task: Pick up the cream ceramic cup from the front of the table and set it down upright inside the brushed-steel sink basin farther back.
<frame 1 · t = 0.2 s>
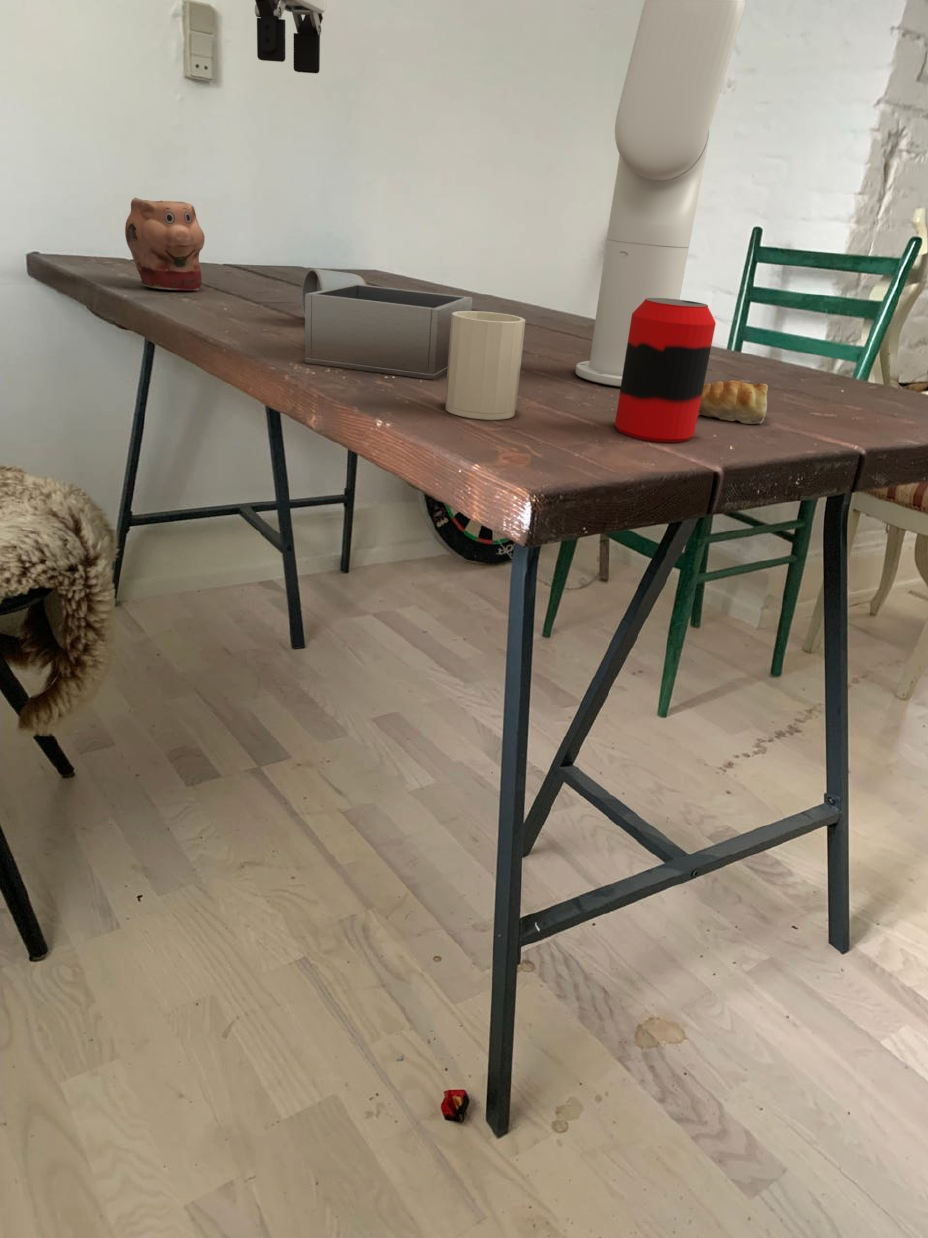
hand: (289, 66, 107), 31 cm above the table, tool pointing down, fingers open, 9 cm apart
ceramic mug: (329, 325, 134), on the table
soda can: (653, 434, 87), on the table
cup: (480, 411, 89), on the table
decorative planter: (166, 288, 156), on the table
sink: (390, 361, 110), on the table
pastry: (725, 417, 97), on the table
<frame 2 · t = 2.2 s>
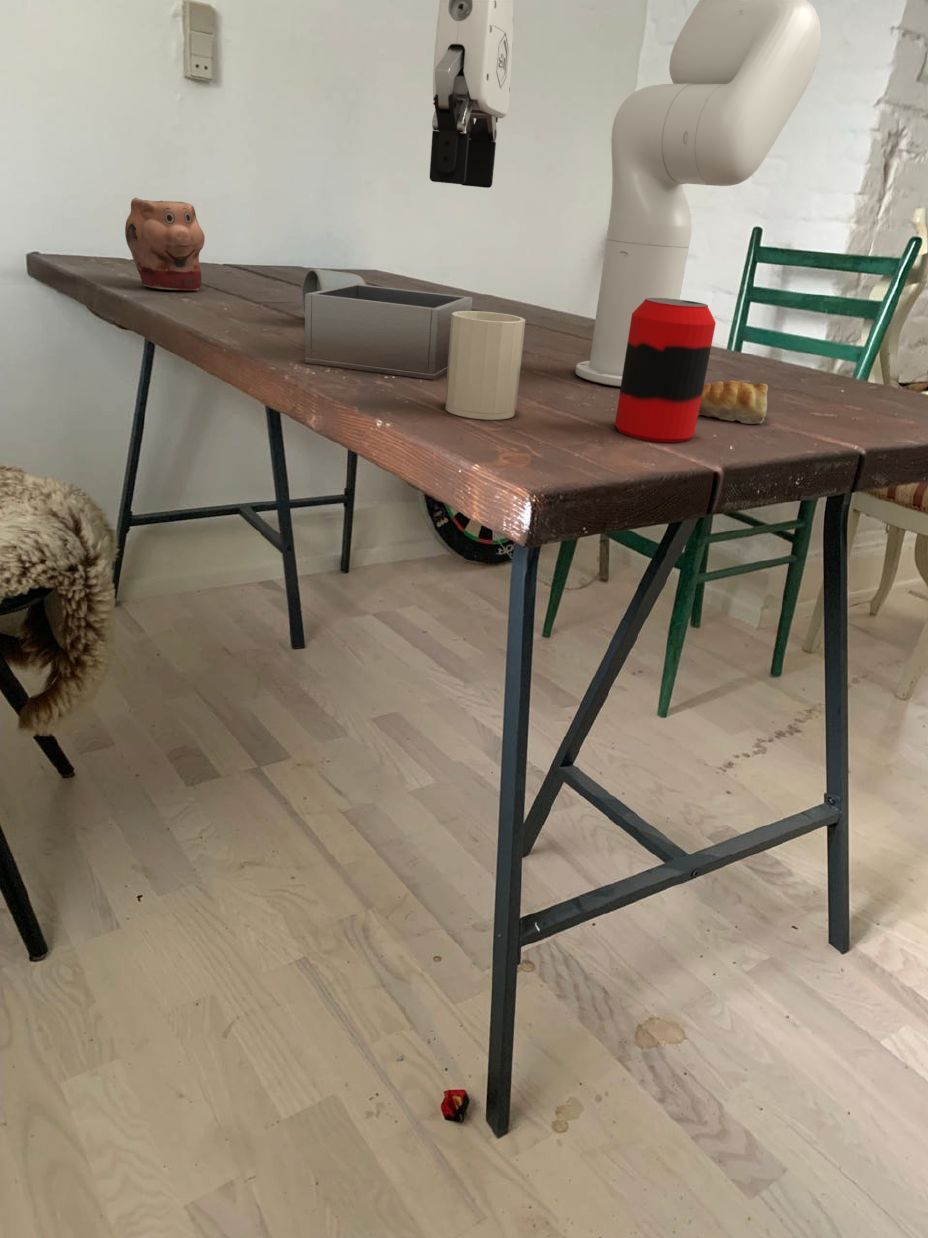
hand: (462, 184, 85), 20 cm above the table, tool pointing down, fingers open, 9 cm apart
nothing on the table moved.
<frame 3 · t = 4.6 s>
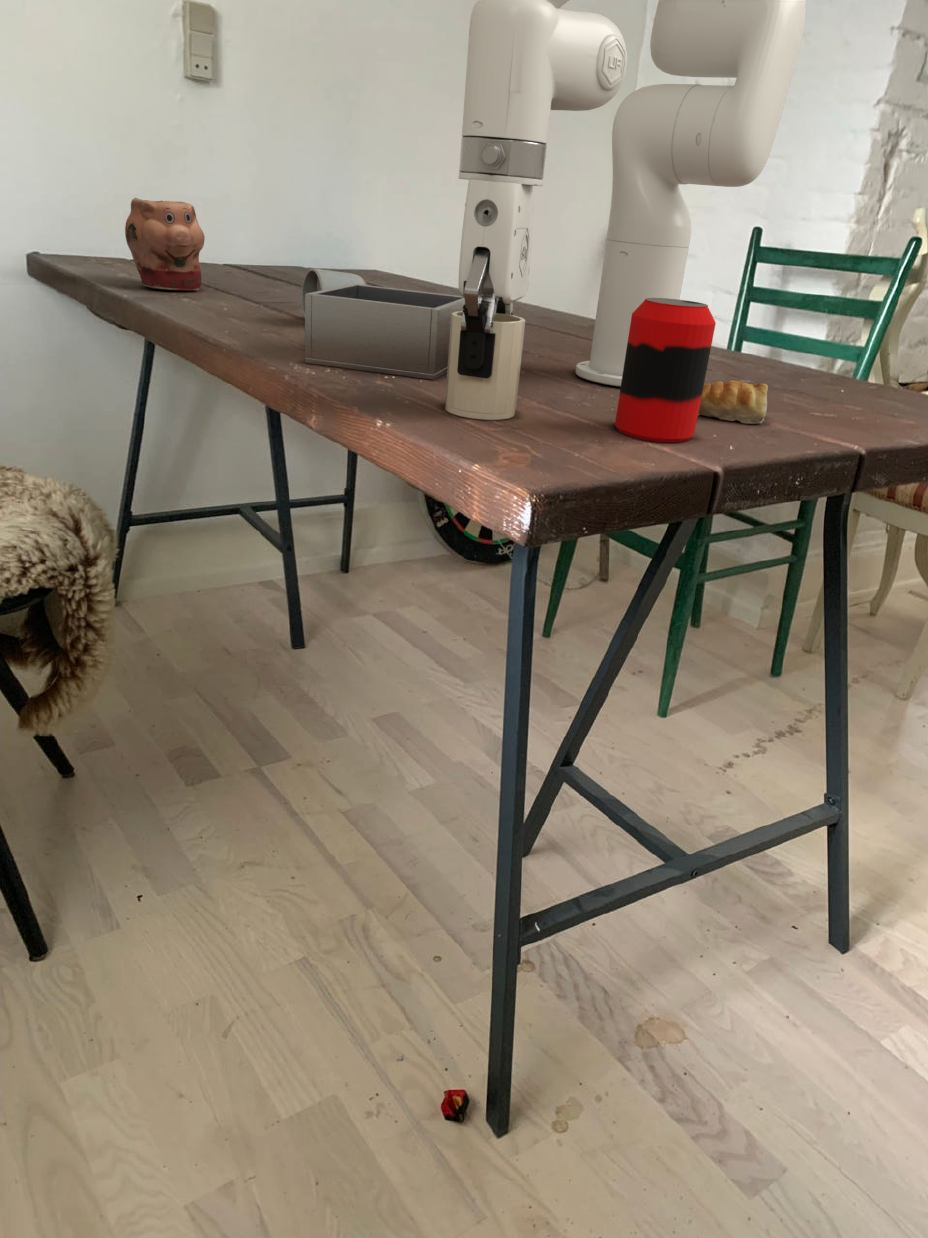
hand: (483, 368, 88), 4 cm above the table, tool pointing down, fingers closed on cup, 7 cm apart
cup: (479, 411, 89), on the table, touching gripper
everything else where it was.
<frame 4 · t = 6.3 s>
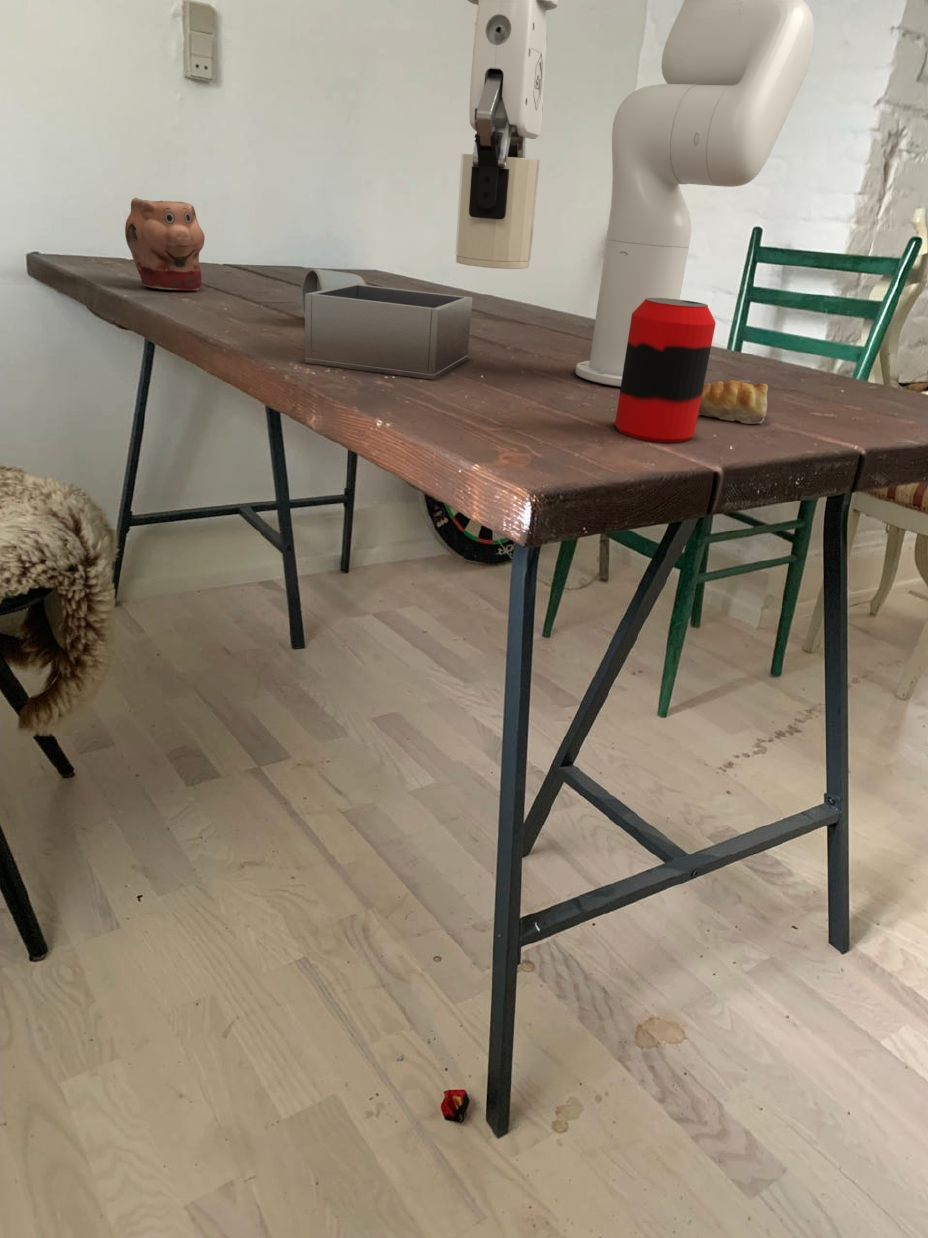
hand: (496, 215, 83), 18 cm above the table, tool pointing down, fingers closed on cup, 7 cm apart
cup: (492, 264, 85), point 14 cm above the table, touching gripper
everything else where it was.
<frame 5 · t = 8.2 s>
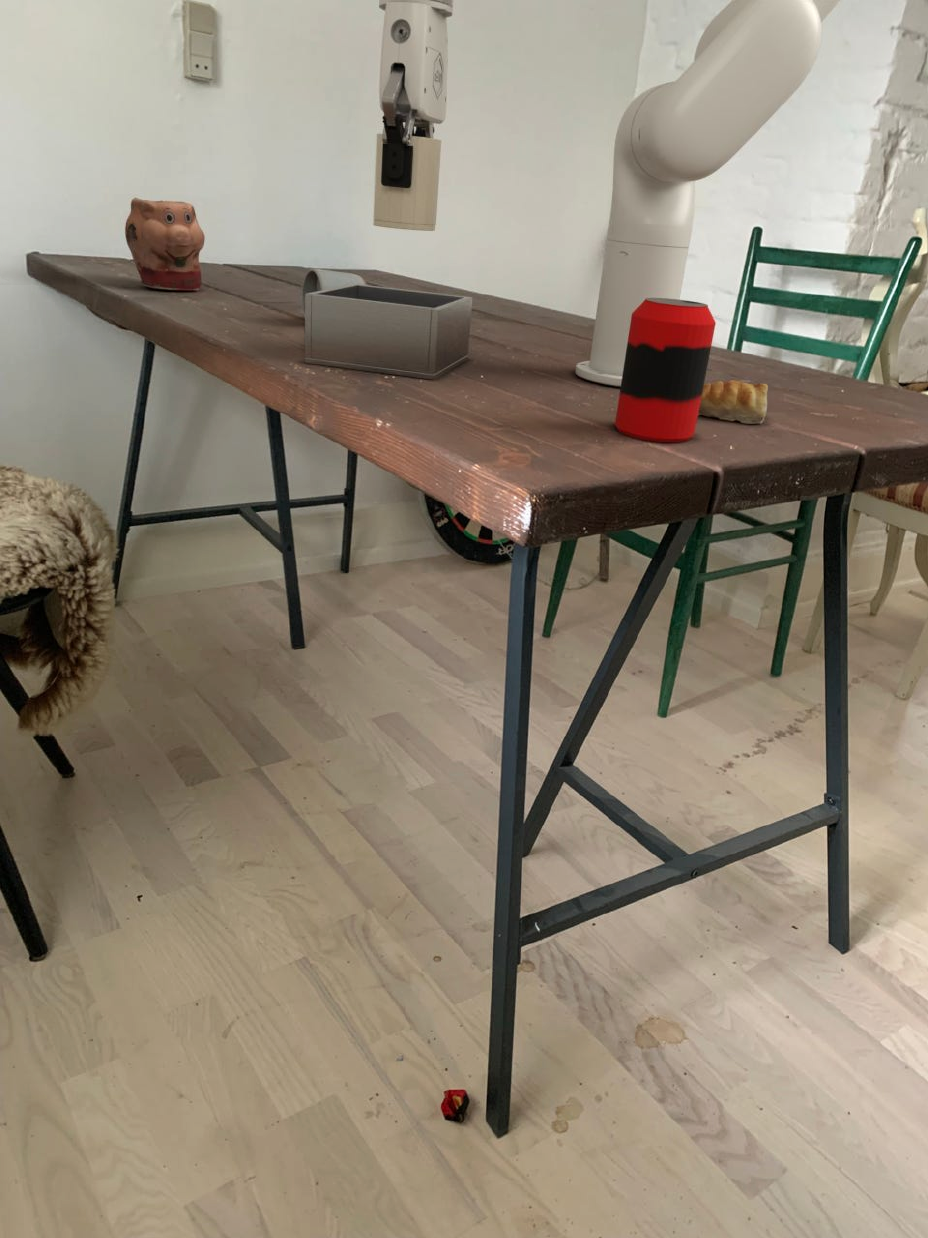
hand: (406, 186, 100), 19 cm above the table, tool pointing down, fingers closed on cup, 7 cm apart
cup: (404, 227, 101), point 15 cm above the table, touching gripper
everything else where it was.
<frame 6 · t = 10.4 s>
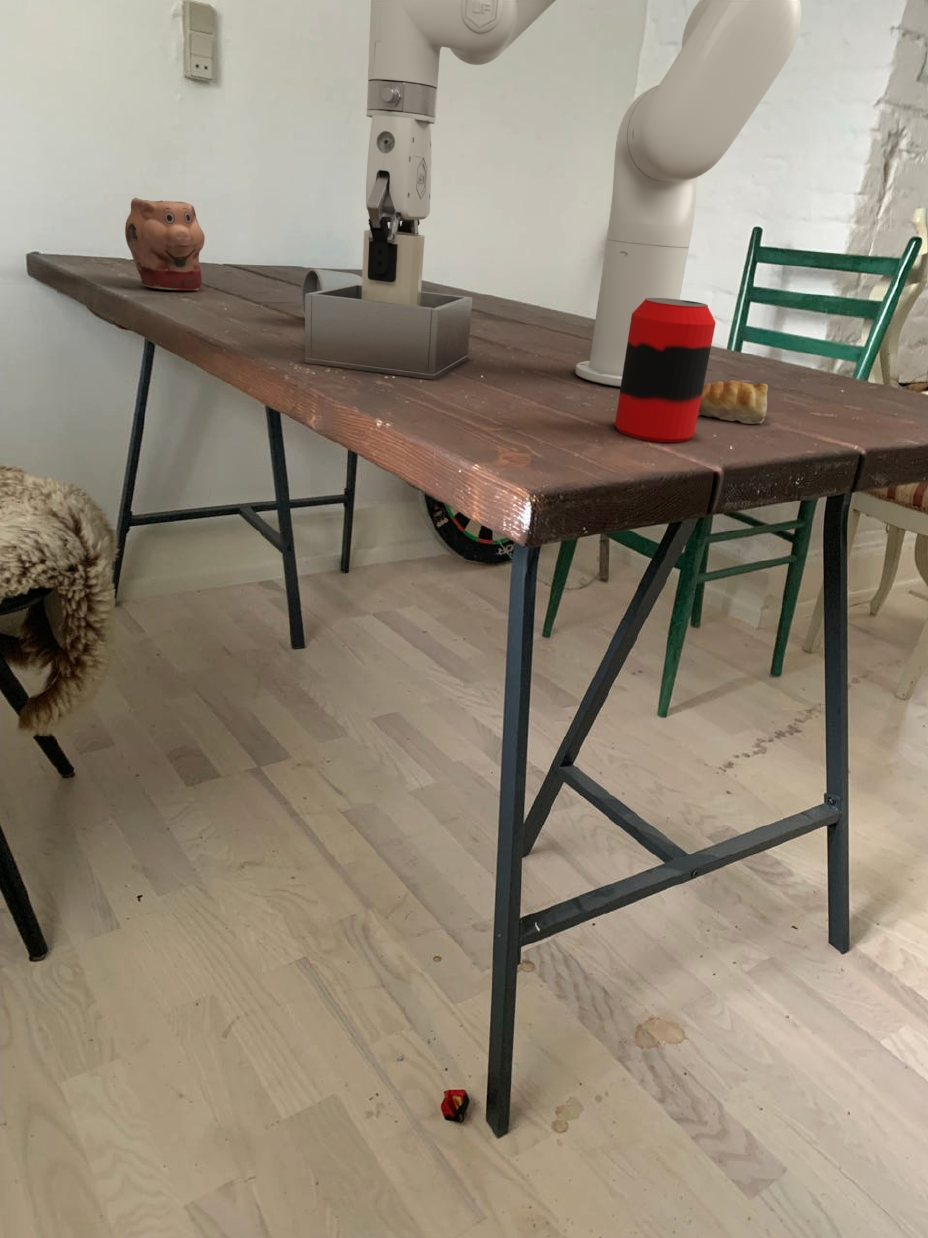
hand: (392, 277, 106), 10 cm above the table, tool pointing down, fingers closed on cup, 7 cm apart
cup: (389, 314, 108), point 5 cm above the table, touching gripper
everything else where it was.
when the fingers open (5 cm above the table, at t = 12.2 s): cup stays where it is, resting on sink.
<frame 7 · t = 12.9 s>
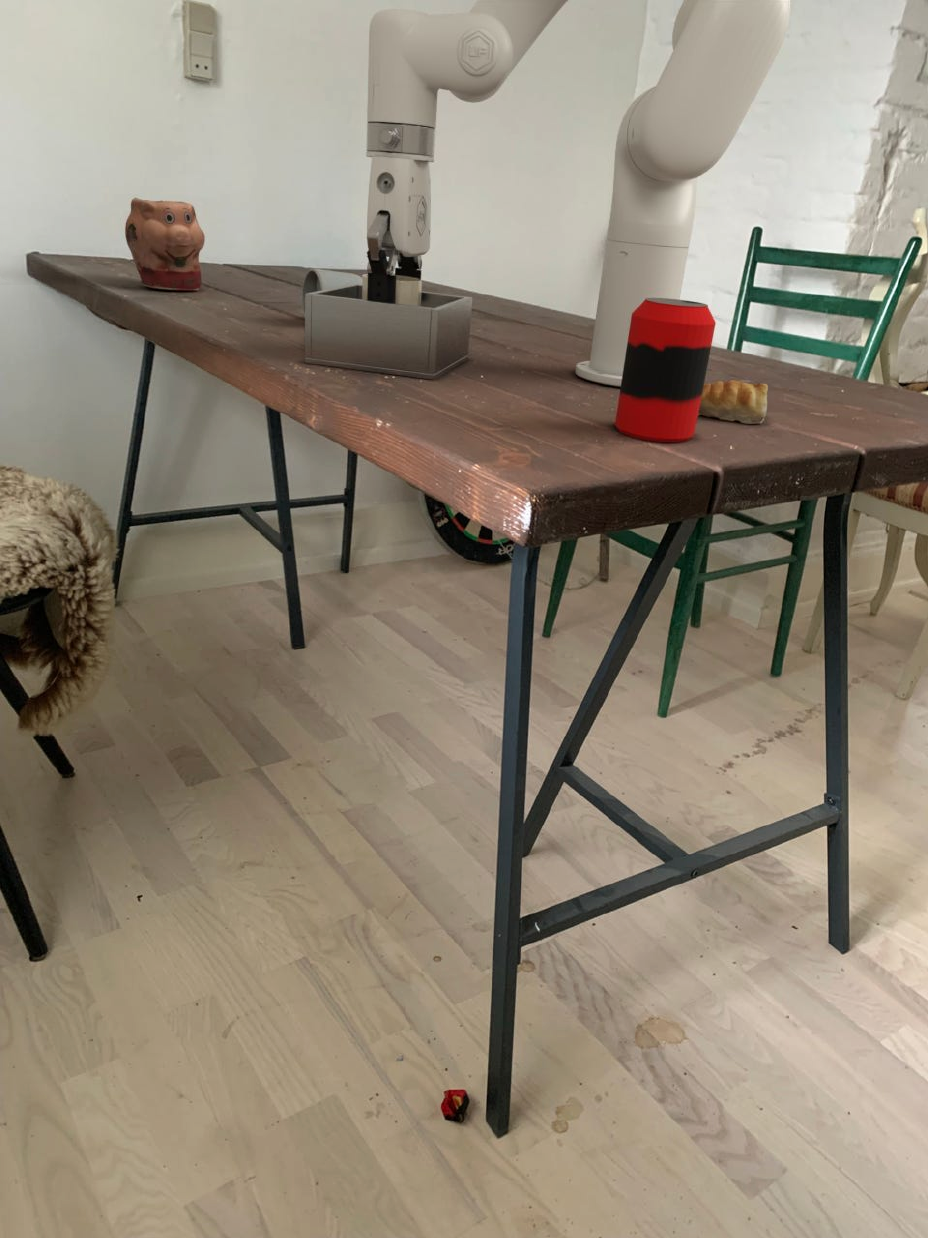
hand: (394, 307, 107), 6 cm above the table, tool pointing down, fingers open, 9 cm apart
cup: (388, 356, 110), point 1 cm above the table, touching sink
everything else where it was.
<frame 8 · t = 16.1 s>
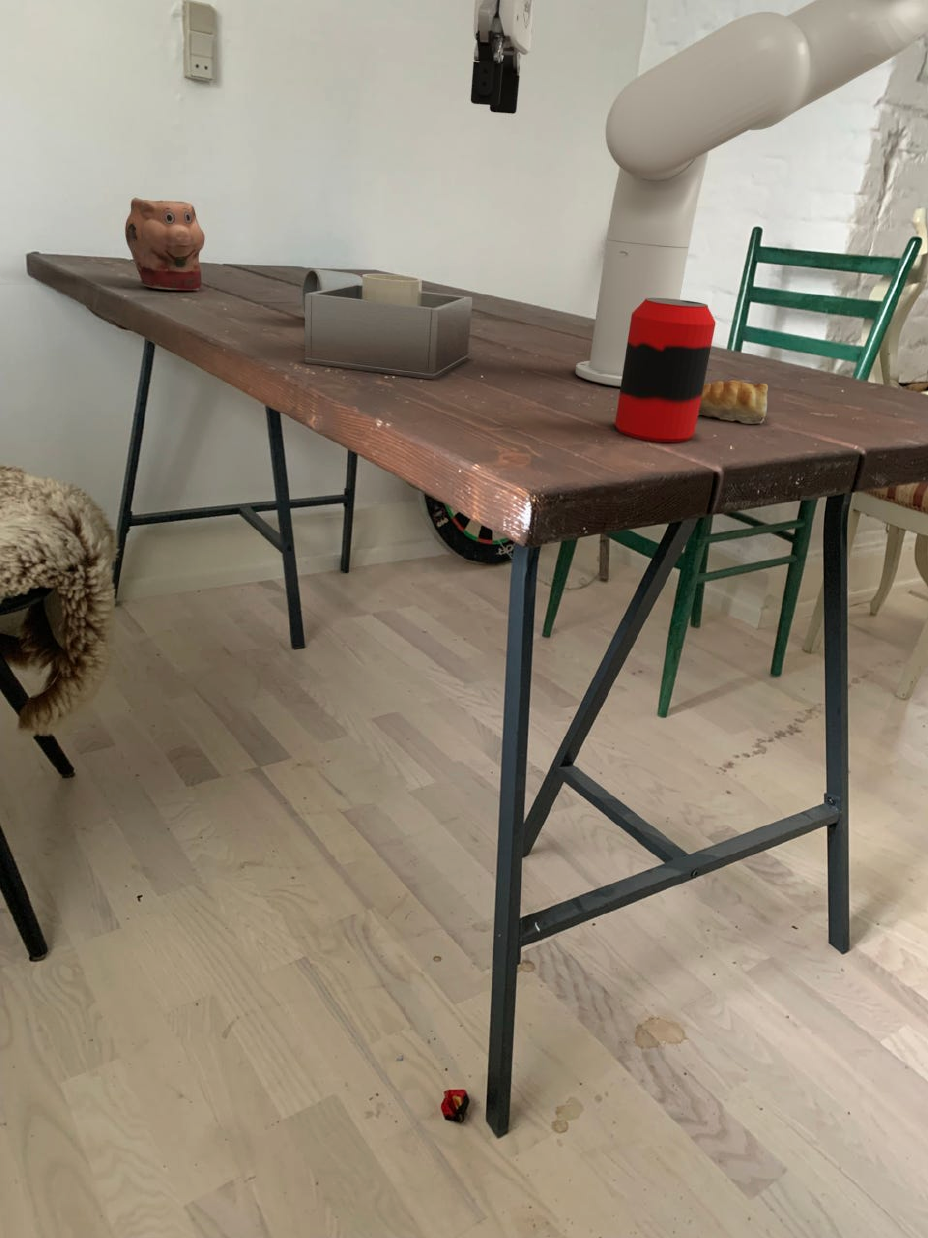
hand: (494, 108, 105), 28 cm above the table, tool pointing down, fingers open, 9 cm apart
nothing on the table moved.
at the end: cup inside the target area in the sink (0.2 cm from its centre), point 0.6 cm above the sink's base; cup tilted 0°; the gripper is holding nothing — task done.
